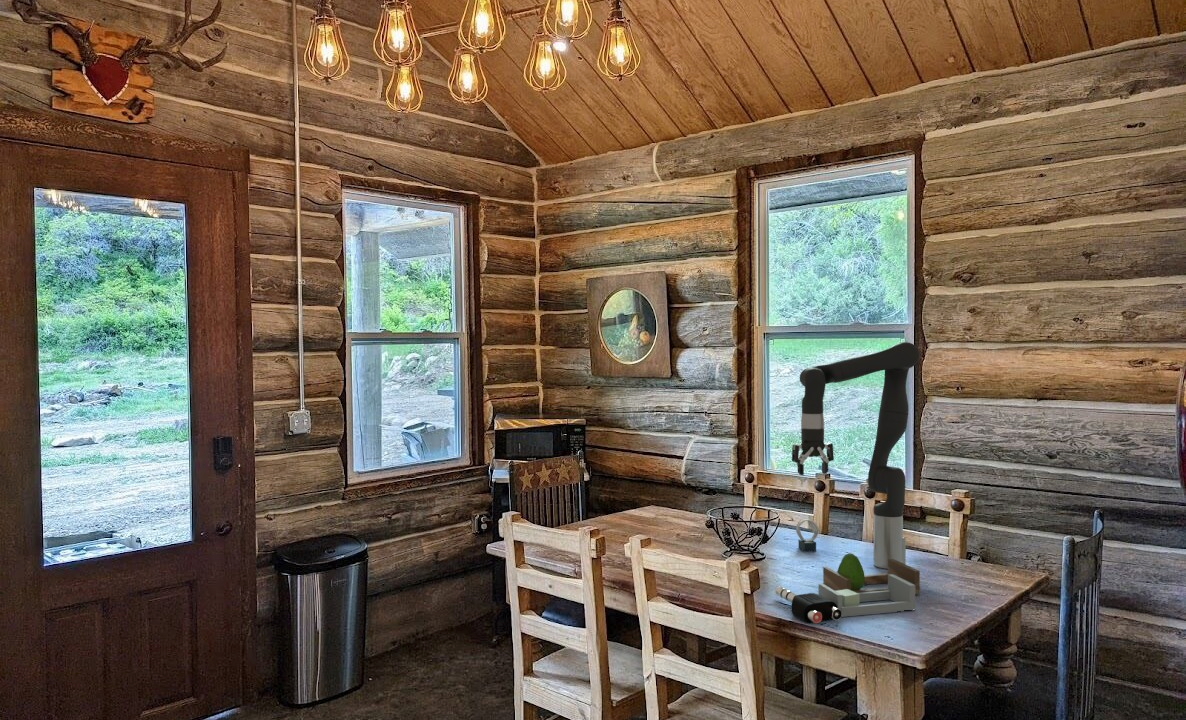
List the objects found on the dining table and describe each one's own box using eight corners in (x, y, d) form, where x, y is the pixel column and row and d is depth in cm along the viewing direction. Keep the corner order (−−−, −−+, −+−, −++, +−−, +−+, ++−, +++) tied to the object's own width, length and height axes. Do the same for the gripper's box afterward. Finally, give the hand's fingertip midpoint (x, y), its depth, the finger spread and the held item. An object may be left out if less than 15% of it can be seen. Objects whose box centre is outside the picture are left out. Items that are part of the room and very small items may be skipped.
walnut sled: (892, 580, 254) (892, 558, 253) (919, 594, 240) (919, 570, 240) (823, 586, 249) (823, 563, 248) (846, 600, 235) (846, 576, 235)
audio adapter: (810, 608, 214) (759, 582, 237) (810, 628, 214) (759, 600, 238) (844, 603, 218) (791, 578, 241) (844, 623, 218) (791, 595, 241)
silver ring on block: (821, 550, 291) (821, 520, 291) (800, 552, 290) (799, 521, 289) (814, 547, 296) (814, 517, 296) (793, 548, 295) (793, 518, 295)
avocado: (847, 598, 238) (847, 557, 237) (831, 590, 245) (831, 551, 245) (870, 595, 240) (870, 555, 240) (854, 587, 248) (853, 548, 247)
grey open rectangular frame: (892, 597, 237) (892, 574, 237) (915, 610, 226) (915, 585, 226) (818, 604, 232) (818, 580, 232) (838, 617, 221) (838, 591, 221)
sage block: (847, 606, 231) (847, 588, 231) (859, 611, 226) (859, 593, 226) (833, 608, 229) (833, 591, 229) (845, 614, 224) (845, 596, 224)
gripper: (826, 424, 280) (826, 471, 281) (788, 426, 277) (788, 473, 278) (837, 427, 273) (837, 475, 273) (798, 428, 270) (798, 477, 270)
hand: (812, 474), depth 275 cm, fingers open, 8 cm apart
